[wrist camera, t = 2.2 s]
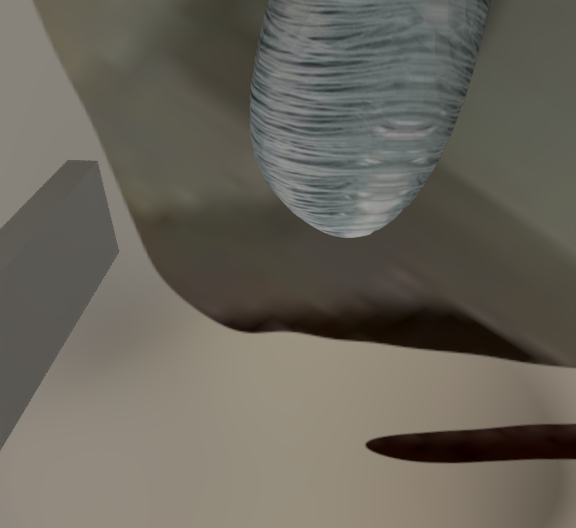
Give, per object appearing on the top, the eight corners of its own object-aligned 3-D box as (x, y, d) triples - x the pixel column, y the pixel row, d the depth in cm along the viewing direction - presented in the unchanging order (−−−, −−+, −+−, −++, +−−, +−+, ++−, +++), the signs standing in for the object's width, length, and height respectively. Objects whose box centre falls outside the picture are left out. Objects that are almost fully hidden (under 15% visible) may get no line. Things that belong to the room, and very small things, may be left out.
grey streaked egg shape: (253, -187, 18) (364, -45, 13) (471, -134, 22) (626, -7, 17) (201, 128, 29) (251, 278, 23) (355, 128, 32) (428, 258, 27)
